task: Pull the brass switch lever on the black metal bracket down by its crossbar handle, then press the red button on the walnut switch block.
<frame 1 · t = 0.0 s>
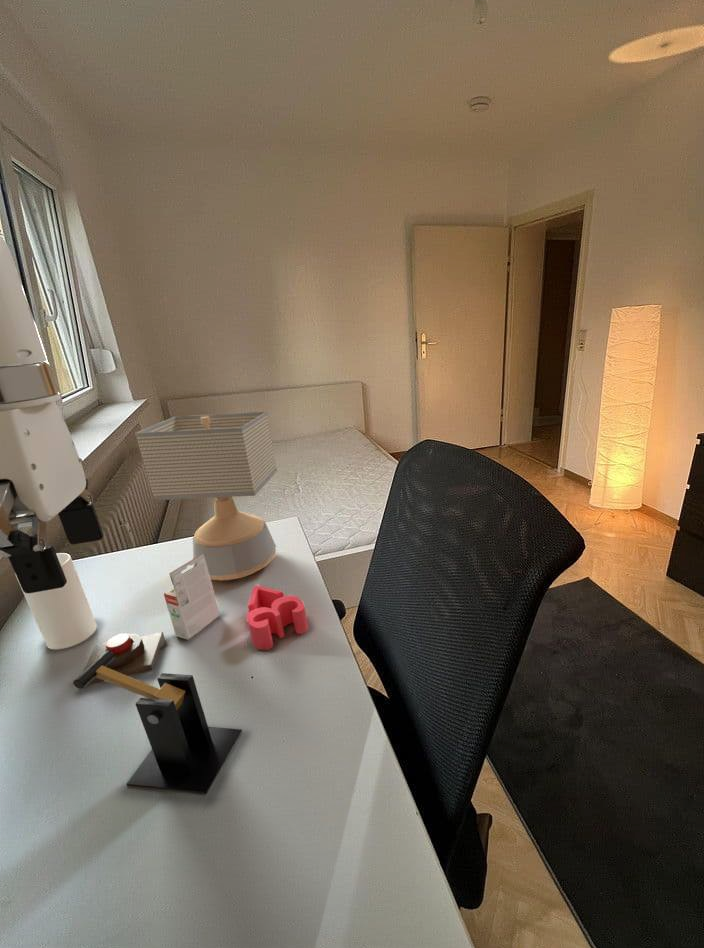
hand: (69, 562, 44), 33 cm above the table, tool pointing down, fingers open, 9 cm apart
switch bracket: (189, 761, 60), on the table
red button: (119, 644, 76), point 4 cm above the table, slide at 0.1 cm
ink box: (199, 627, 87), on the table
button block: (126, 664, 78), on the table
switch lever: (134, 685, 55), point 13 cm above the table, hinge at 25.0°
cup: (72, 635, 87), on the table
desk lamp: (238, 566, 108), on the table
letters: (272, 623, 87), on the table
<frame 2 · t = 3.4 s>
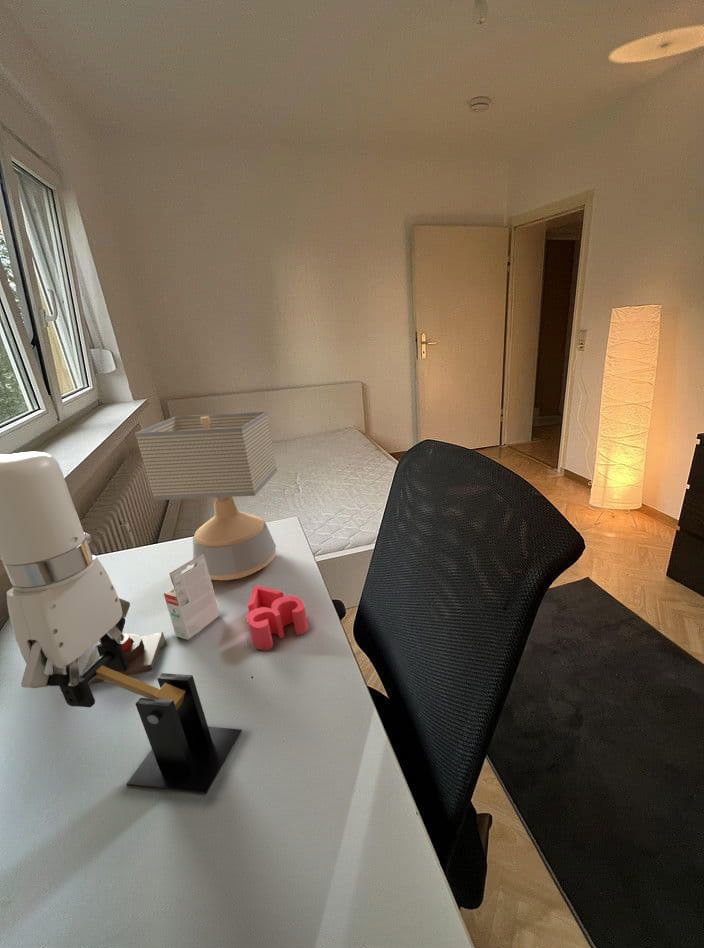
hand: (100, 685, 56), 13 cm above the table, tool pointing down, fingers closed on switch lever, 5 cm apart
switch lever: (134, 685, 55), point 13 cm above the table, hinge at 25.0°, touching gripper
everything else where it was.
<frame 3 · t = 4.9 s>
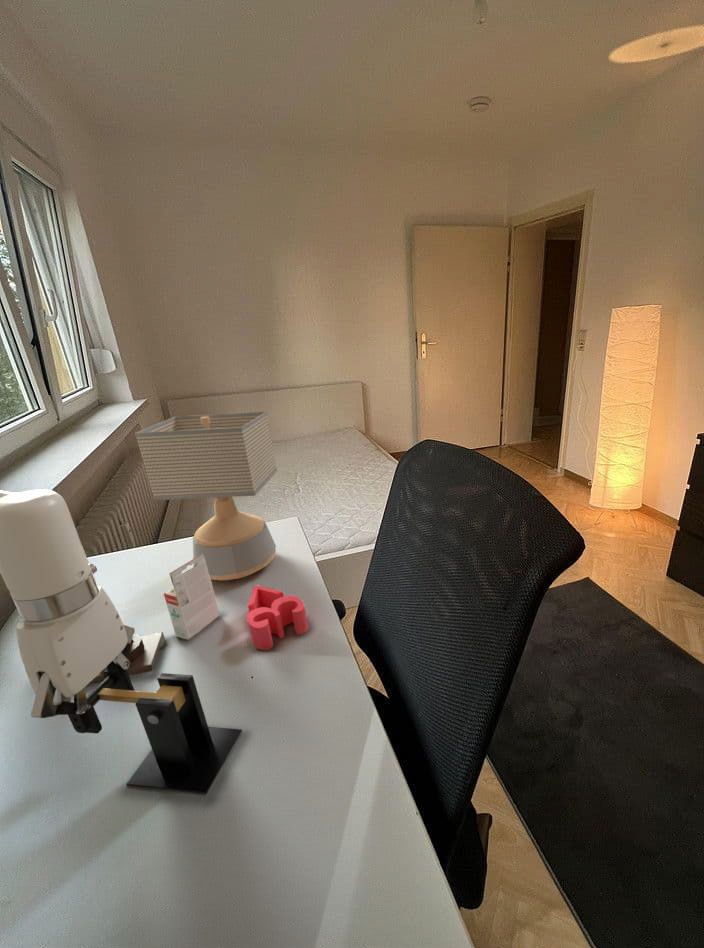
hand: (107, 710, 58), 8 cm above the table, tool pointing down, fingers closed on switch lever, 5 cm apart
switch lever: (135, 696, 56), point 11 cm above the table, hinge at 0.7°, touching gripper
everything else where it was.
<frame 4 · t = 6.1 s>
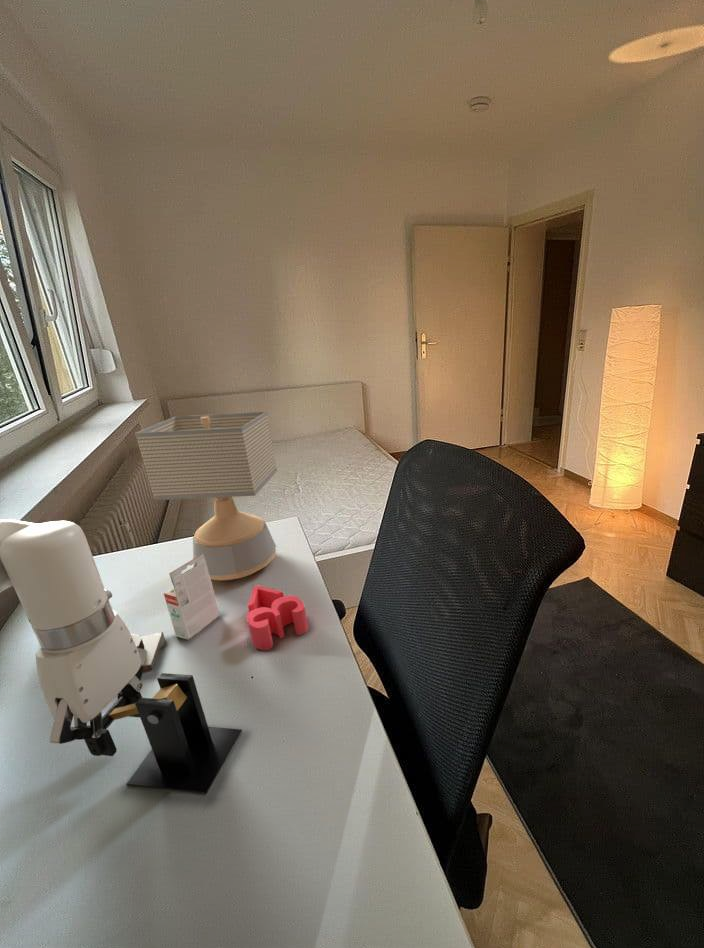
hand: (121, 732, 59), 4 cm above the table, tool pointing down, fingers open, 5 cm apart
switch lever: (141, 707, 57), point 9 cm above the table, hinge at -20.8°
everything else where it was.
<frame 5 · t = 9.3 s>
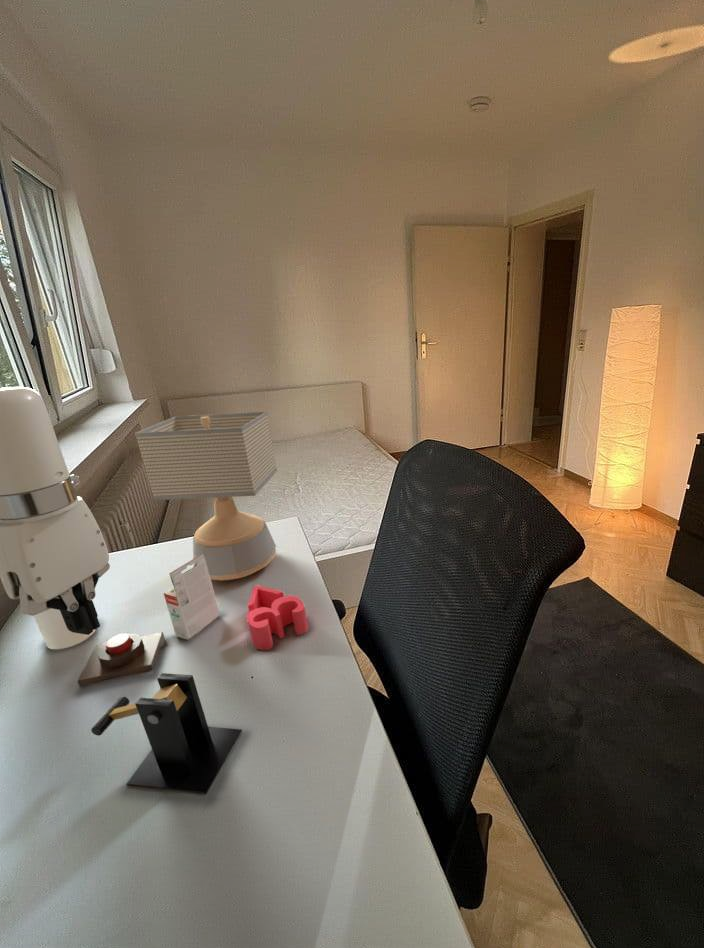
hand: (85, 629, 57), 19 cm above the table, tool pointing down, fingers closed
nothing on the table moved.
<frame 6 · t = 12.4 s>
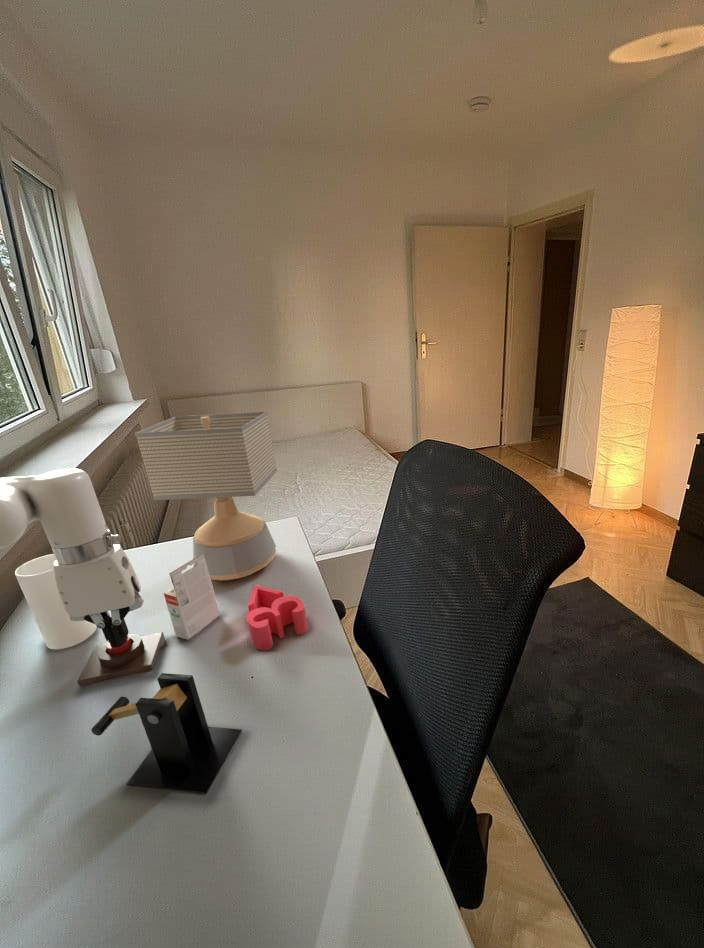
hand: (119, 640, 76), 5 cm above the table, tool pointing down, fingers closed
red button: (119, 645, 76), point 4 cm above the table, slide at -0.2 cm, touching gripper
everything else where it was.
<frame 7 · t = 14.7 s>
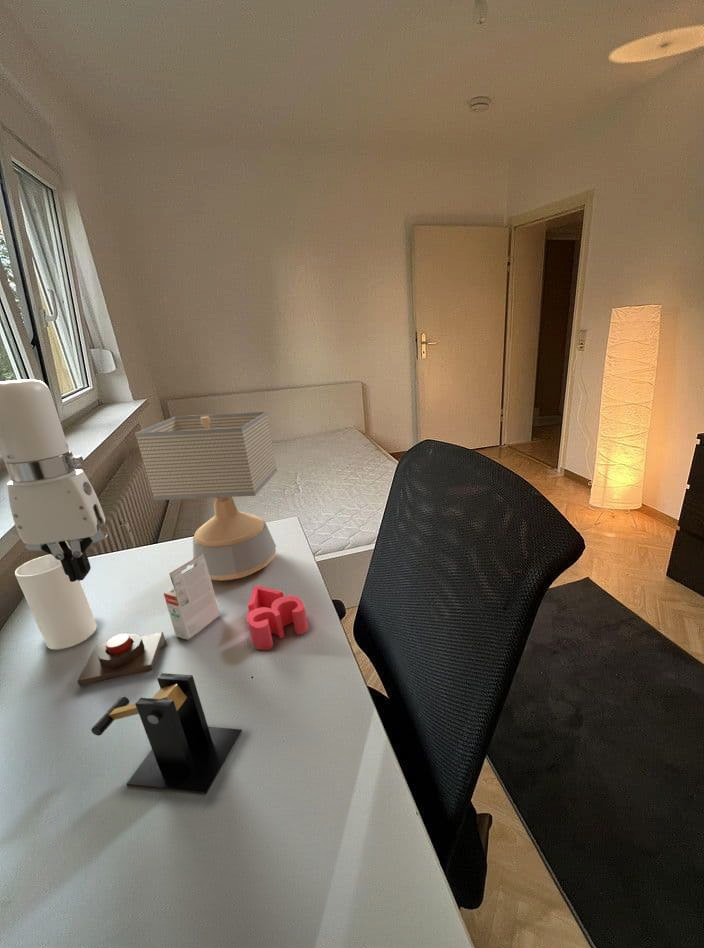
hand: (80, 576, 71), 18 cm above the table, tool pointing down, fingers closed
red button: (119, 644, 76), point 4 cm above the table, slide at 0.1 cm
everything else where it was.
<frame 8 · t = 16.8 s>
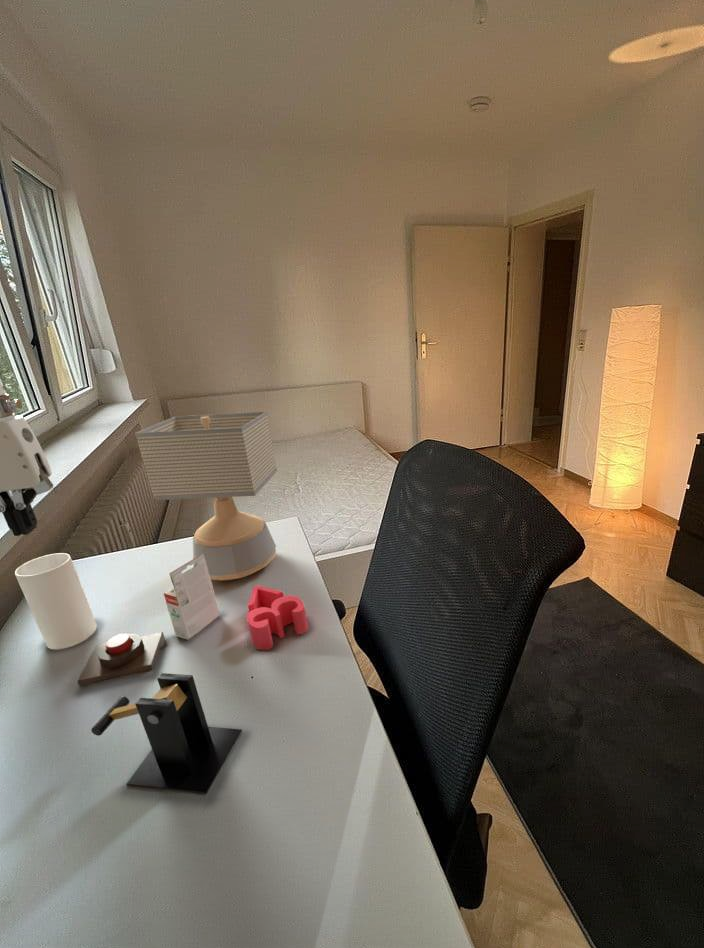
hand: (26, 531, 67), 27 cm above the table, tool pointing down, fingers closed
nothing on the table moved.
at the end: switch lever at -21° (first picture: +25°); red button pushed in 1.1 cm at the most during the clip, back to where it started at the end; red button slide at 0.1 cm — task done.
